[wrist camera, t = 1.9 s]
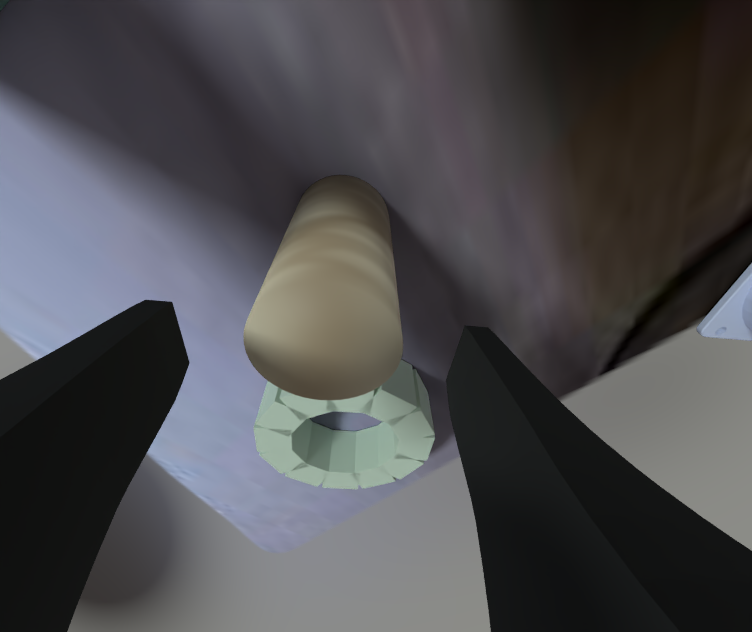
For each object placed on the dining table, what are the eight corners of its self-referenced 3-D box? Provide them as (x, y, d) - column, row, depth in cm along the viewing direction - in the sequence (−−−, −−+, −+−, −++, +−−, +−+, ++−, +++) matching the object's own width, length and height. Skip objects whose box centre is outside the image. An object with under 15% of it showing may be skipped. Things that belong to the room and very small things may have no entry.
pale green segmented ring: (442, 351, 20) (451, 393, 18) (411, 450, 26) (415, 491, 24) (261, 337, 19) (246, 379, 17) (272, 443, 25) (262, 484, 23)
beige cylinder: (395, 180, 14) (416, 291, 8) (383, 267, 17) (391, 404, 10) (295, 169, 14) (234, 274, 8) (297, 259, 16) (251, 395, 10)
